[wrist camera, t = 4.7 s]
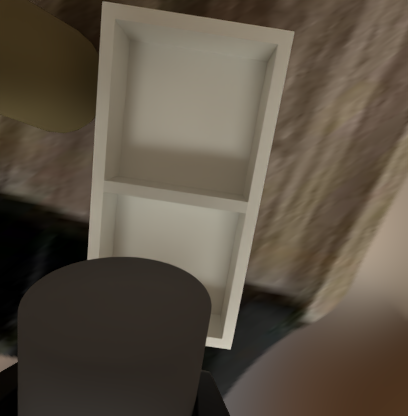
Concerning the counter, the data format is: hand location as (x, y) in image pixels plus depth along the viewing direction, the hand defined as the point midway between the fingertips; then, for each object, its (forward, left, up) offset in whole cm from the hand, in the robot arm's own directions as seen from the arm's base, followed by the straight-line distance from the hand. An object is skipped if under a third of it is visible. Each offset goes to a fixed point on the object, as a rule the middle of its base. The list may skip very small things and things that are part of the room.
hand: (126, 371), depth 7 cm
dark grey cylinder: (0, 0, +1) cm, 1 cm away
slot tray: (+4, 0, -10) cm, 11 cm away
